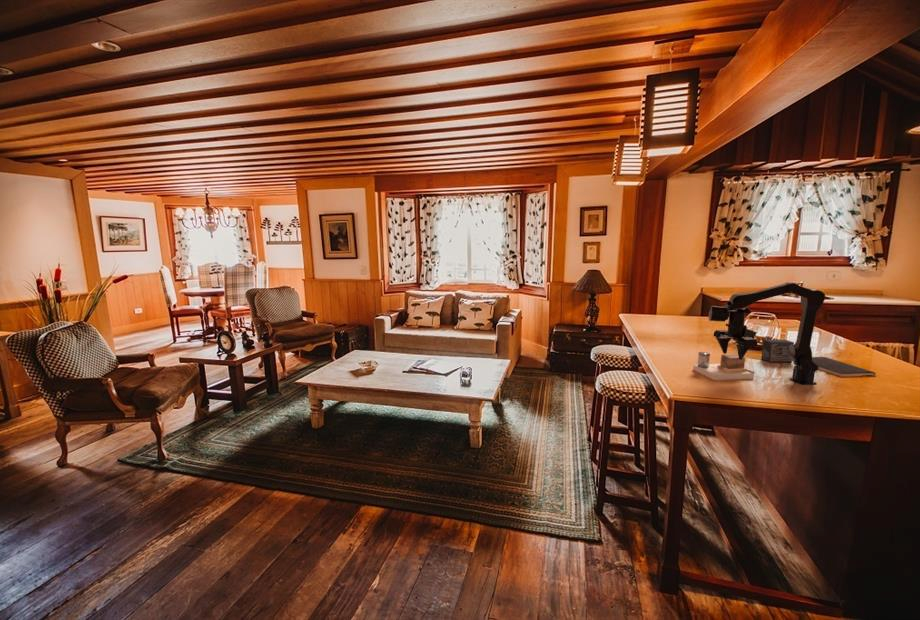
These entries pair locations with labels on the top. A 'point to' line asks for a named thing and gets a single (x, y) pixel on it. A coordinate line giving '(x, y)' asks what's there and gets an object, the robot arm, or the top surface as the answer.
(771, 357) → the small box
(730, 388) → the top surface
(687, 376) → the top surface
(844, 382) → the top surface
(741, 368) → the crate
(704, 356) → the canister
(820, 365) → the hardcover book
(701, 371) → the dock
